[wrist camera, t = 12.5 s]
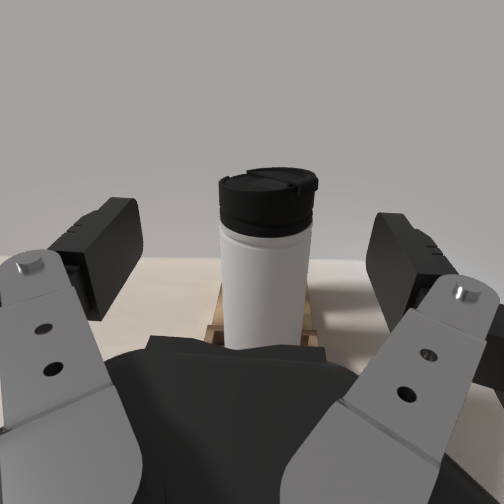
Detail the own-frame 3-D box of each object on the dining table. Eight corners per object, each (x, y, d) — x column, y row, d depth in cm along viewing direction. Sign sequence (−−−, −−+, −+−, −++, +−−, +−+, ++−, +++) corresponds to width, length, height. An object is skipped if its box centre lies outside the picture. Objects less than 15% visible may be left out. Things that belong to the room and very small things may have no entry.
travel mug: (264, 433, 28) (274, 195, 18) (212, 384, 32) (196, 167, 22) (312, 387, 32) (343, 170, 22) (260, 349, 36) (265, 150, 26)
